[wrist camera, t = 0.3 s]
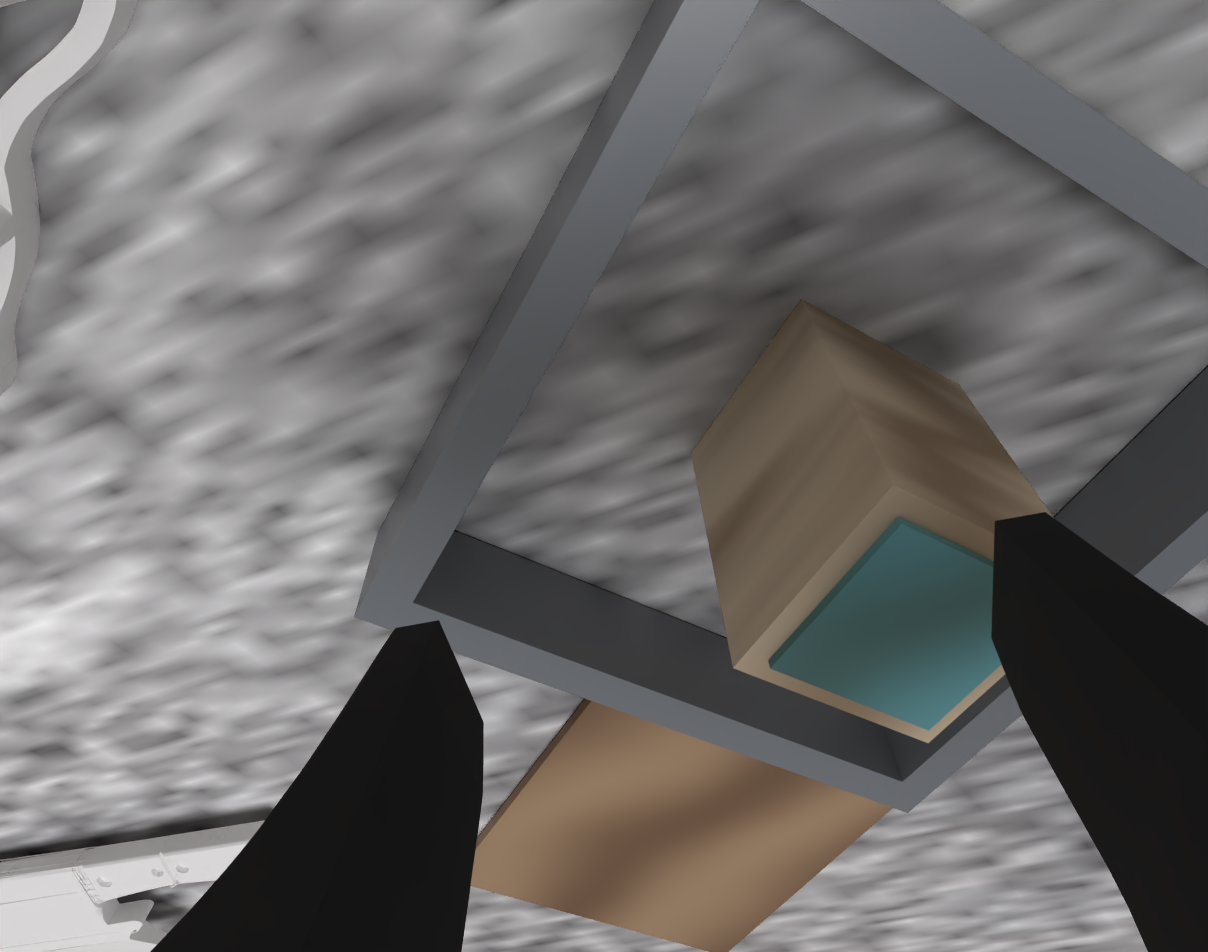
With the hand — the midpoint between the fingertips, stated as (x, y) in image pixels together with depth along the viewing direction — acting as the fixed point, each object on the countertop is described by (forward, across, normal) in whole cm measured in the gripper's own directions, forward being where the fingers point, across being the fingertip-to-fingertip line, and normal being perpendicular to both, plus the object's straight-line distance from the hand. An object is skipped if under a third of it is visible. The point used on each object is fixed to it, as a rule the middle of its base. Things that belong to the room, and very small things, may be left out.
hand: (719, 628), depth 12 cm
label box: (+10, -3, +4) cm, 11 cm away
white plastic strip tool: (+10, +22, +18) cm, 30 cm away
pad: (+10, +3, +18) cm, 21 cm away
